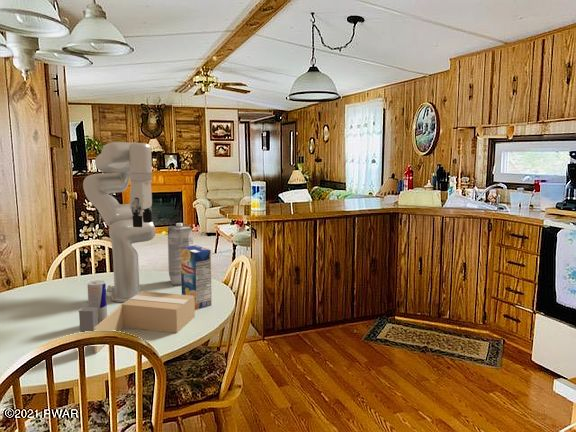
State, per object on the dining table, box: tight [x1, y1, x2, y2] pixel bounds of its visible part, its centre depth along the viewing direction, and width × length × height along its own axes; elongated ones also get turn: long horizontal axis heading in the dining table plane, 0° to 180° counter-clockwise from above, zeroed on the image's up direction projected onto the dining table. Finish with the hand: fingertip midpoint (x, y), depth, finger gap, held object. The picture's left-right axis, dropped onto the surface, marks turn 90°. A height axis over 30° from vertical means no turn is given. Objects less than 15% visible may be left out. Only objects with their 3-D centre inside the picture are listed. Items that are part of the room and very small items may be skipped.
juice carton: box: [167, 222, 194, 286], centre depth 195 cm, size 9×10×27 cm
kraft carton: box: [121, 291, 196, 334], centre depth 151 cm, size 20×14×8 cm
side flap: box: [78, 305, 124, 354], centre depth 136 cm, size 19×5×13 cm, turn 178°
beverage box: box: [180, 244, 213, 310], centre depth 169 cm, size 7×11×22 cm, turn 42°
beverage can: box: [87, 279, 108, 324], centre depth 148 cm, size 6×6×15 cm
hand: (142, 224), depth 159 cm, fingers open, 9 cm apart
